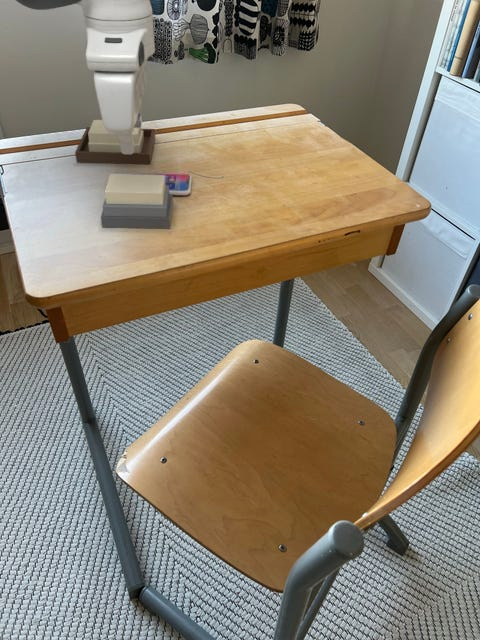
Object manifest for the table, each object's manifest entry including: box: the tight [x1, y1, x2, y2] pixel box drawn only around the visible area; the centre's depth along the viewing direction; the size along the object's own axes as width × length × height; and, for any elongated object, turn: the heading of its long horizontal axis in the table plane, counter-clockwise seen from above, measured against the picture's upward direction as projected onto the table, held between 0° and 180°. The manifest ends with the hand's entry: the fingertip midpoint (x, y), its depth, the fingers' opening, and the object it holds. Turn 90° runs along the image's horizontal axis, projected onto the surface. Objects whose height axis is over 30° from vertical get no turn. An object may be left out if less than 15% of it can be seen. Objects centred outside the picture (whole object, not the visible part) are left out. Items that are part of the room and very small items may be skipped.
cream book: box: [104, 173, 166, 205], centre depth 83 cm, size 9×6×2 cm, turn 92°
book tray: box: [74, 126, 157, 165], centre depth 104 cm, size 14×12×2 cm
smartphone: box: [112, 171, 193, 196], centre depth 94 cm, size 7×1×15 cm
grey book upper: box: [102, 185, 169, 217], centre depth 85 cm, size 10×8×2 cm
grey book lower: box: [100, 194, 174, 230], centre depth 86 cm, size 11×8×2 cm
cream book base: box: [88, 130, 144, 153], centre depth 104 cm, size 10×7×2 cm
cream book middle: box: [88, 119, 143, 144], centre depth 102 cm, size 10×6×2 cm
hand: (132, 138), depth 78 cm, fingers open, 8 cm apart
